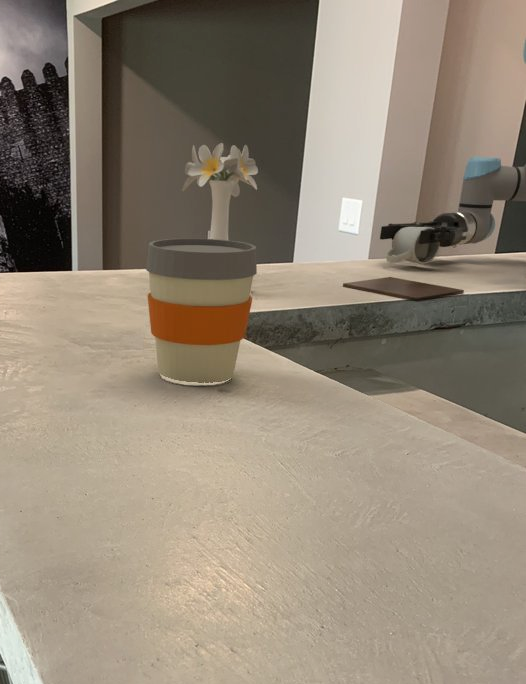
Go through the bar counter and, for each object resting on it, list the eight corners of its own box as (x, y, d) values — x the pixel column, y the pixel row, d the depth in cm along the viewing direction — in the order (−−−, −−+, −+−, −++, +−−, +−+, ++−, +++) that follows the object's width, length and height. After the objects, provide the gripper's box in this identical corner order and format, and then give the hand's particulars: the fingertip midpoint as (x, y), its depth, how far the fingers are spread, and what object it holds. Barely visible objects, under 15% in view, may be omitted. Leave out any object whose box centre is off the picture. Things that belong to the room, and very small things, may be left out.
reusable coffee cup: (254, 392, 86) (266, 254, 80) (144, 390, 86) (146, 251, 80) (241, 362, 98) (250, 239, 91) (143, 360, 97) (145, 237, 91)
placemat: (463, 293, 146) (464, 290, 146) (417, 301, 138) (417, 297, 137) (389, 279, 158) (389, 276, 158) (342, 286, 150) (342, 283, 149)
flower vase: (244, 283, 150) (255, 143, 139) (252, 301, 133) (265, 144, 123) (178, 281, 150) (184, 141, 140) (178, 299, 134) (184, 142, 123)
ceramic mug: (410, 258, 177) (415, 223, 174) (437, 263, 171) (443, 226, 168) (375, 260, 173) (380, 225, 170) (402, 266, 167) (407, 229, 163)
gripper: (492, 251, 175) (444, 259, 161) (407, 241, 189) (356, 247, 175) (500, 216, 172) (451, 221, 158) (413, 209, 186) (361, 212, 172)
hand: (401, 235), depth 166 cm, fingers closed on ceramic mug, 9 cm apart
